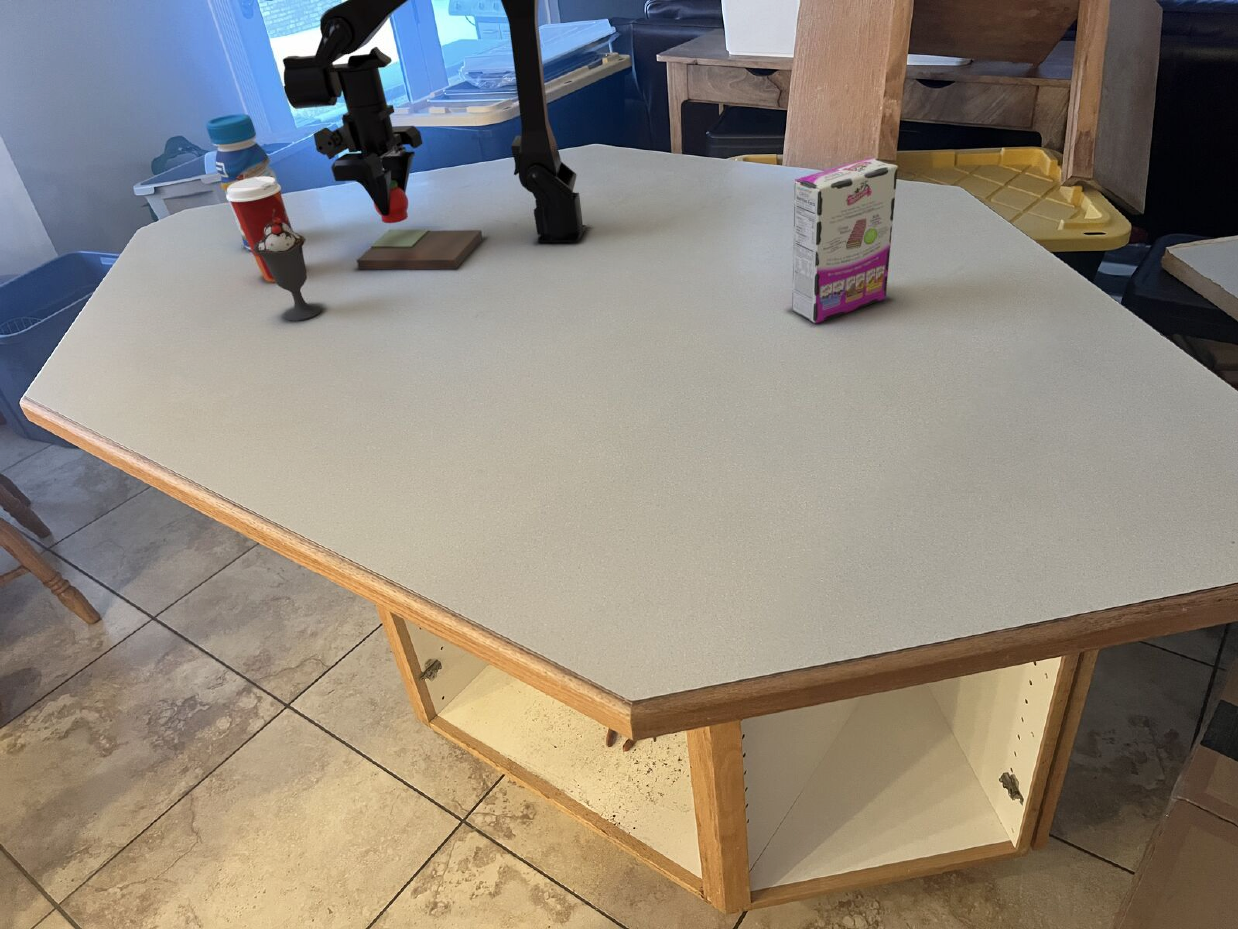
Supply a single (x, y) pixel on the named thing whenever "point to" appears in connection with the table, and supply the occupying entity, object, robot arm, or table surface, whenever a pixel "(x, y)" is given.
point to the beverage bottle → (238, 154)
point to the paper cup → (257, 211)
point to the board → (420, 249)
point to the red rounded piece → (396, 205)
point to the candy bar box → (842, 238)
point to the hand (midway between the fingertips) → (393, 209)
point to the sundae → (286, 265)
